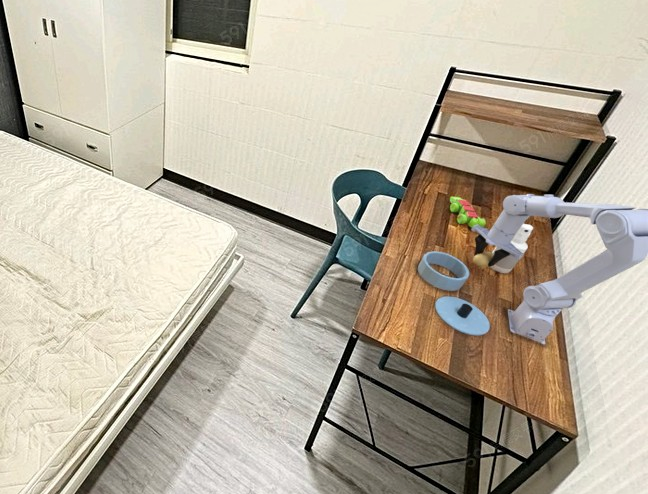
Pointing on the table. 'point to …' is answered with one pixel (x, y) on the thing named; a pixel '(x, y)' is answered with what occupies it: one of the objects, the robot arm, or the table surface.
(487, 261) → the potato
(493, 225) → the robot arm
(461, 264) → the pot
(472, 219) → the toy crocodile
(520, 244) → the spray bottle
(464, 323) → the lid
